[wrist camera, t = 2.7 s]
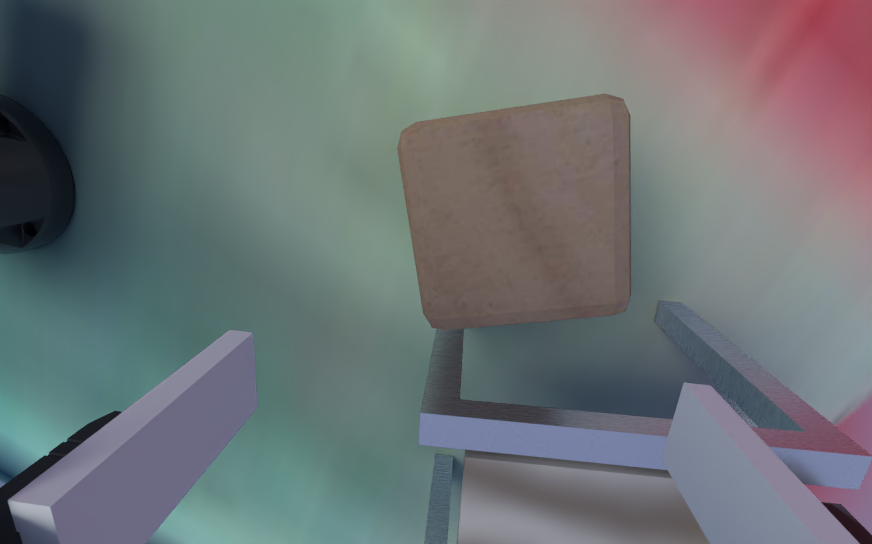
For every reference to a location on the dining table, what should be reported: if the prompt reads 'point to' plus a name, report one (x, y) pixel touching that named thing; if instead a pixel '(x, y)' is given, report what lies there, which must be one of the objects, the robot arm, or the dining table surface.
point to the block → (521, 212)
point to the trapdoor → (571, 503)
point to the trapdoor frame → (626, 420)
